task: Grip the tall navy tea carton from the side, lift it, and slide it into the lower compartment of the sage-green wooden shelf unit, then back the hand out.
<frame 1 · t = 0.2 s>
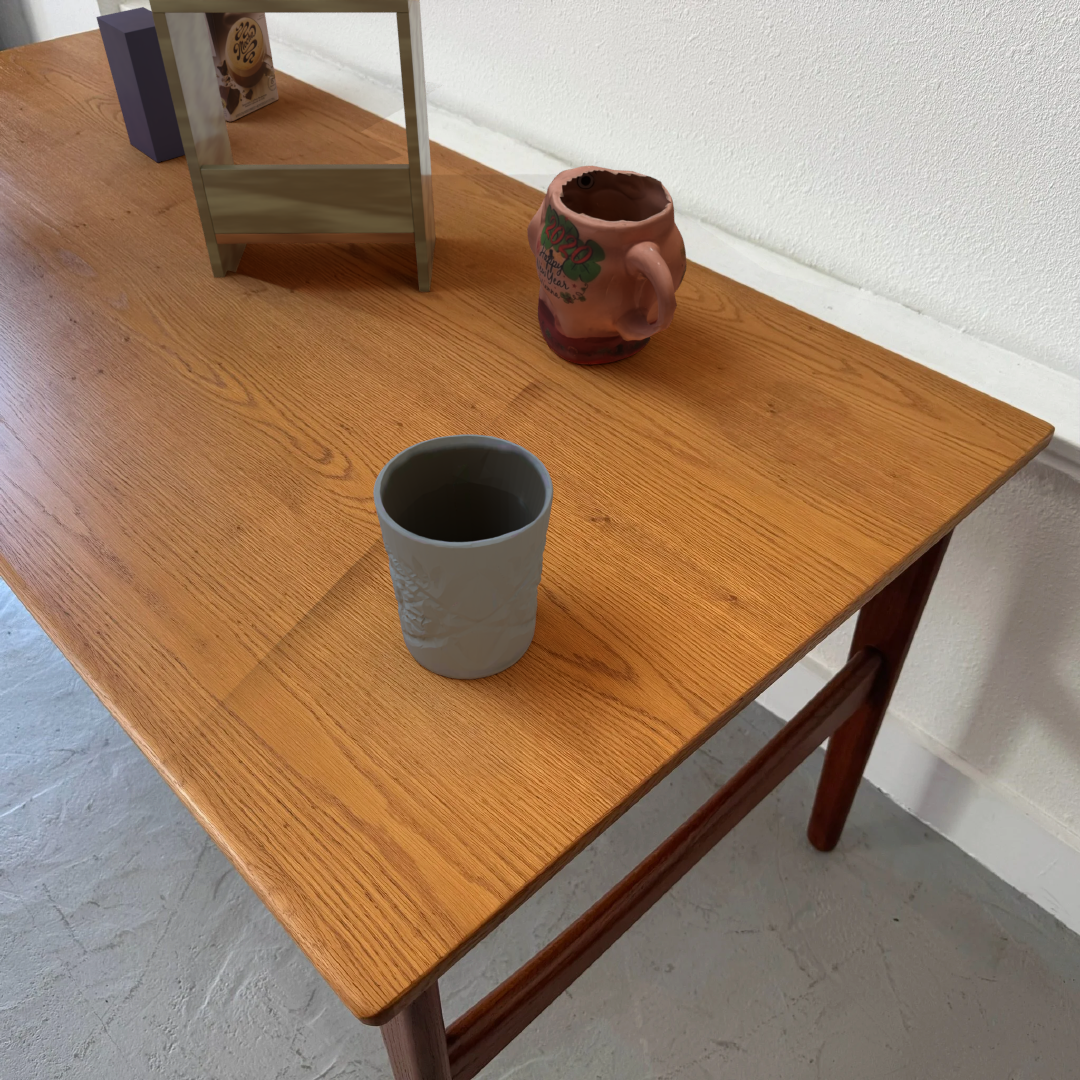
coffee box: (238, 107, 131), on the table
tea carton: (165, 147, 121), on the table
shelf unit: (331, 263, 101), on the table
pink ceramic mug: (605, 347, 91), on the table
grey cup: (472, 628, 67), on the table
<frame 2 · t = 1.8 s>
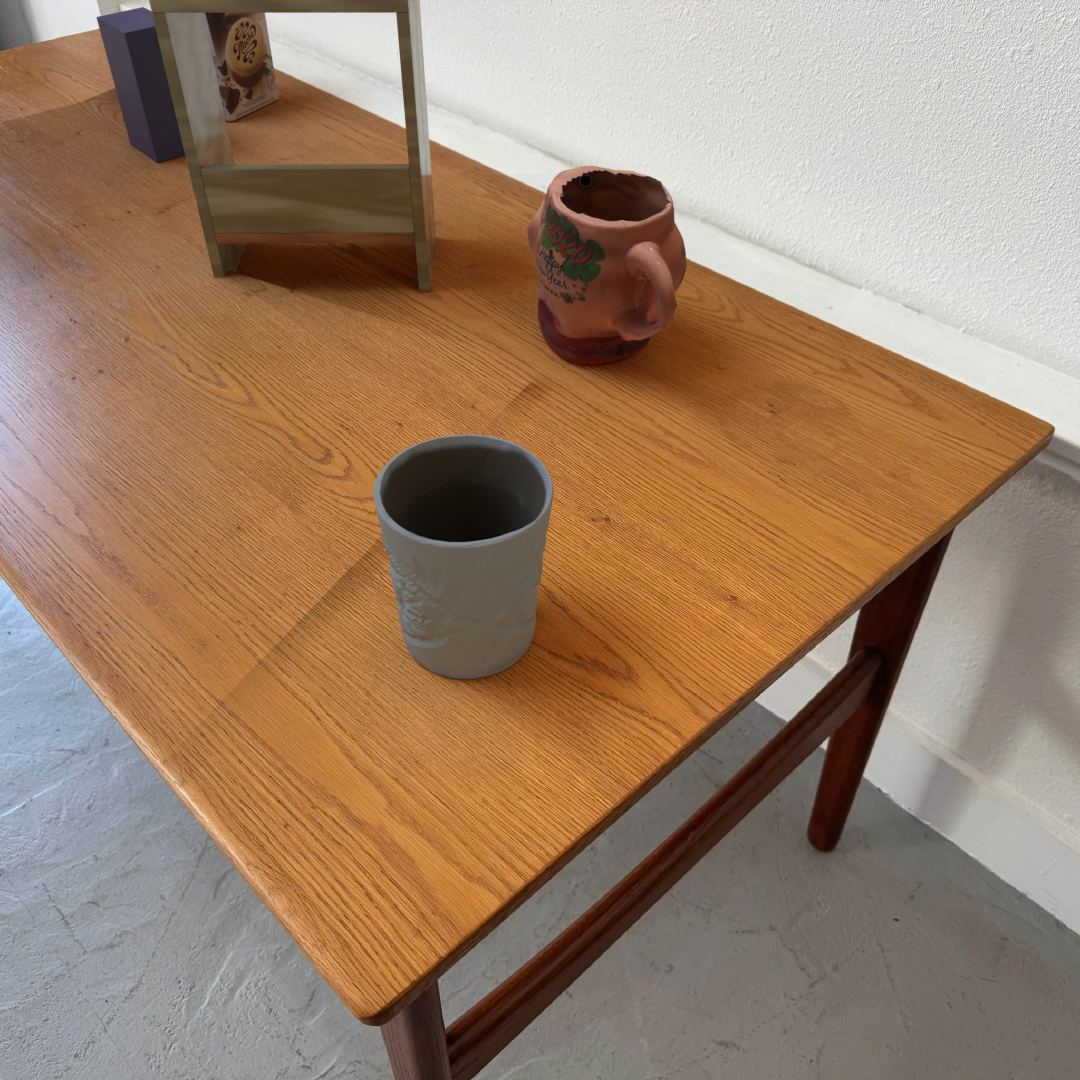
nothing on the table moved.
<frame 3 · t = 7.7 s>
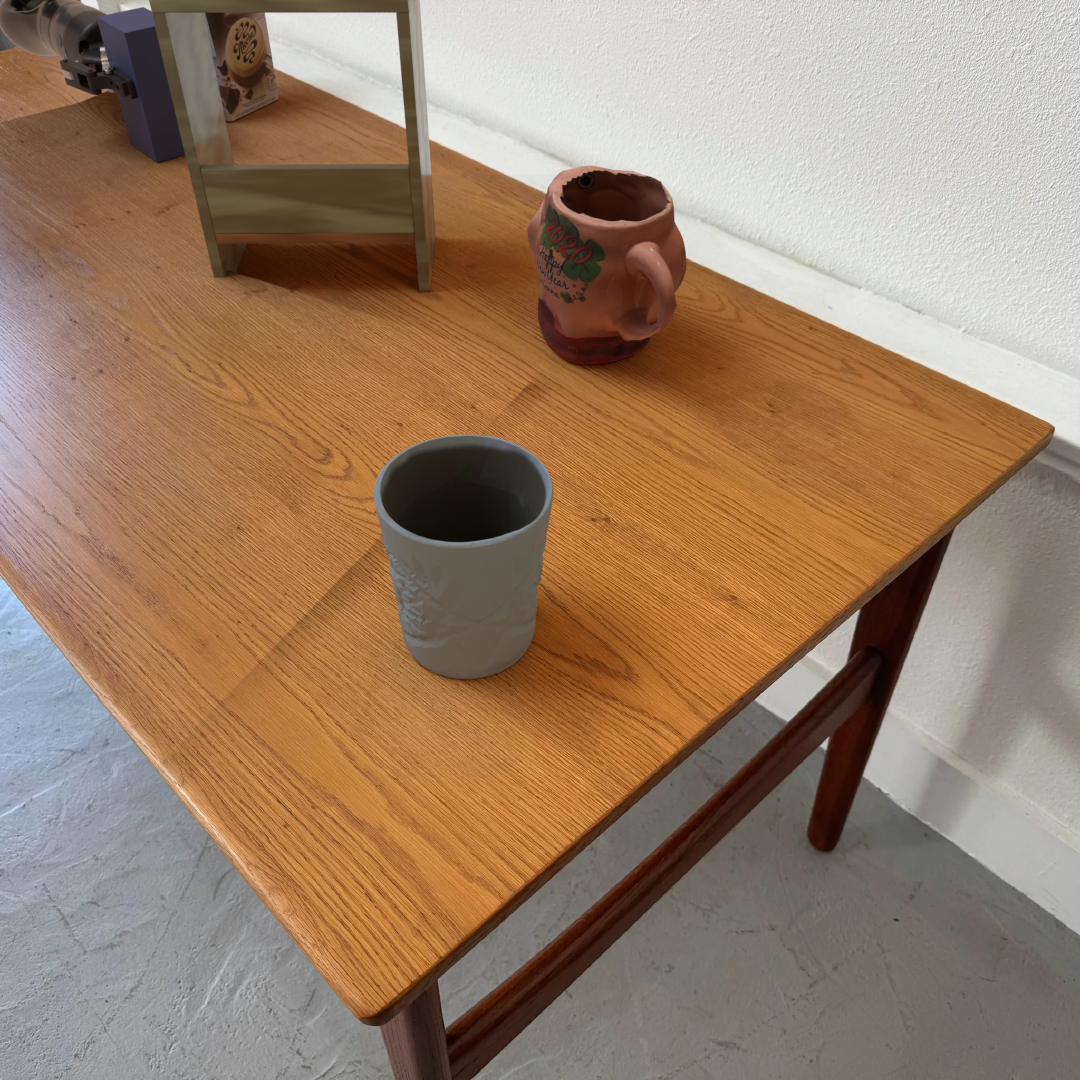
hand: (158, 83, 114), 8 cm above the table, tool horizontal, fingers closed on tea carton, 5 cm apart
tea carton: (165, 147, 121), on the table, touching gripper
everything else where it was.
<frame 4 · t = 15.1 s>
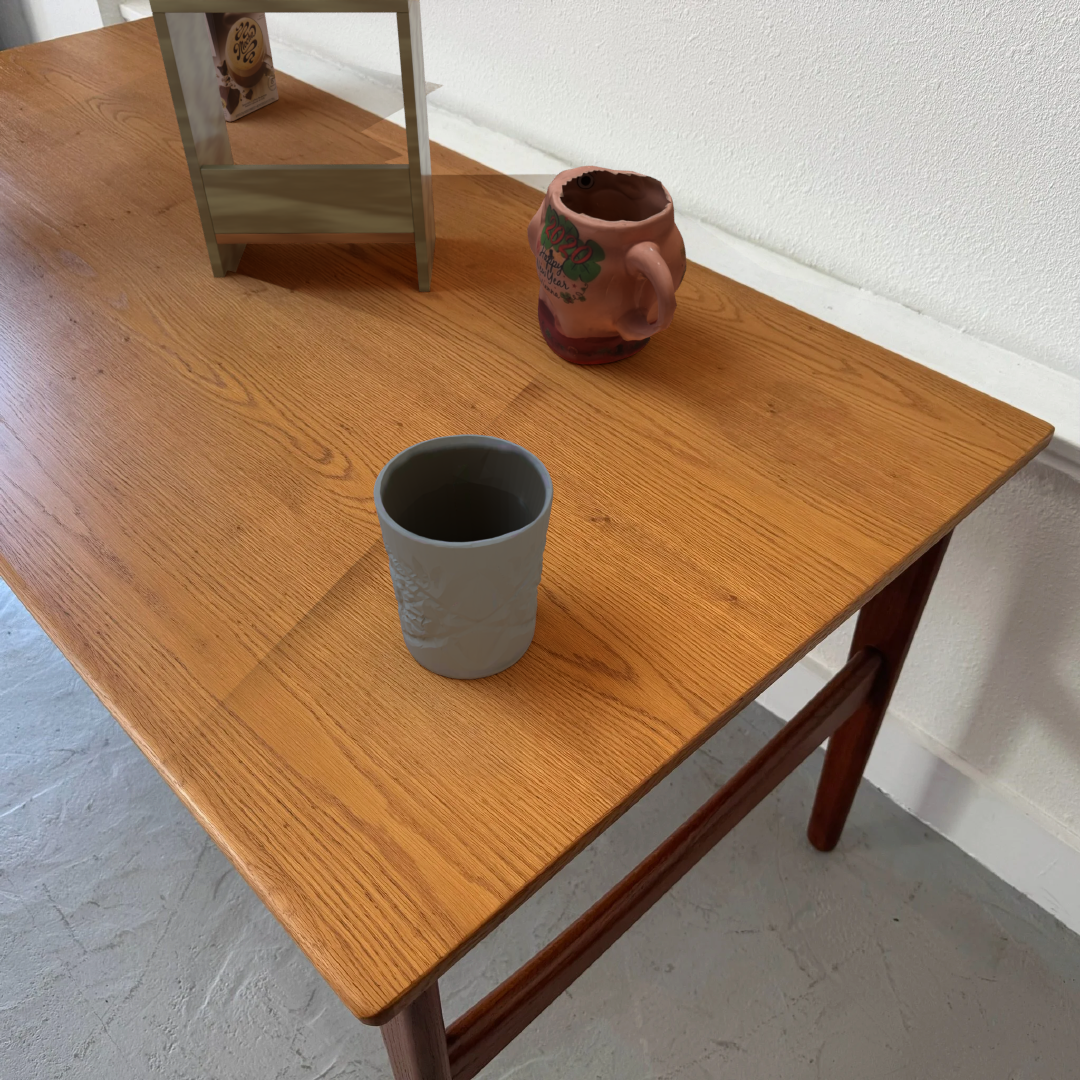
when the fingers open (14 cm above the table, at t = 22.8 s): tea carton stays where it is, resting on shelf unit.
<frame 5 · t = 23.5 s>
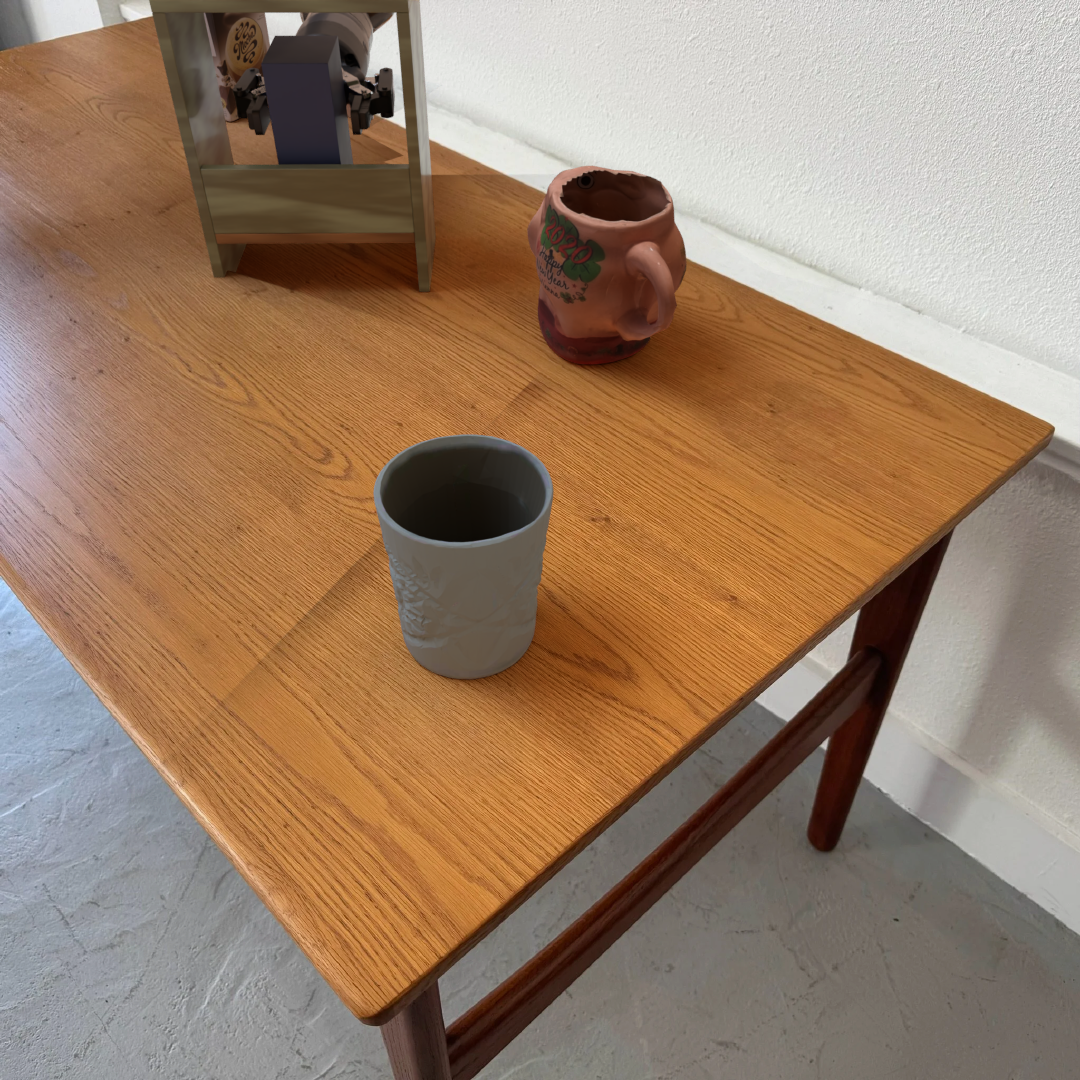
hand: (306, 124, 90), 14 cm above the table, tool horizontal, fingers open, 8 cm apart
tea carton: (323, 205, 97), point 6 cm above the table, touching shelf unit
everything else where it was.
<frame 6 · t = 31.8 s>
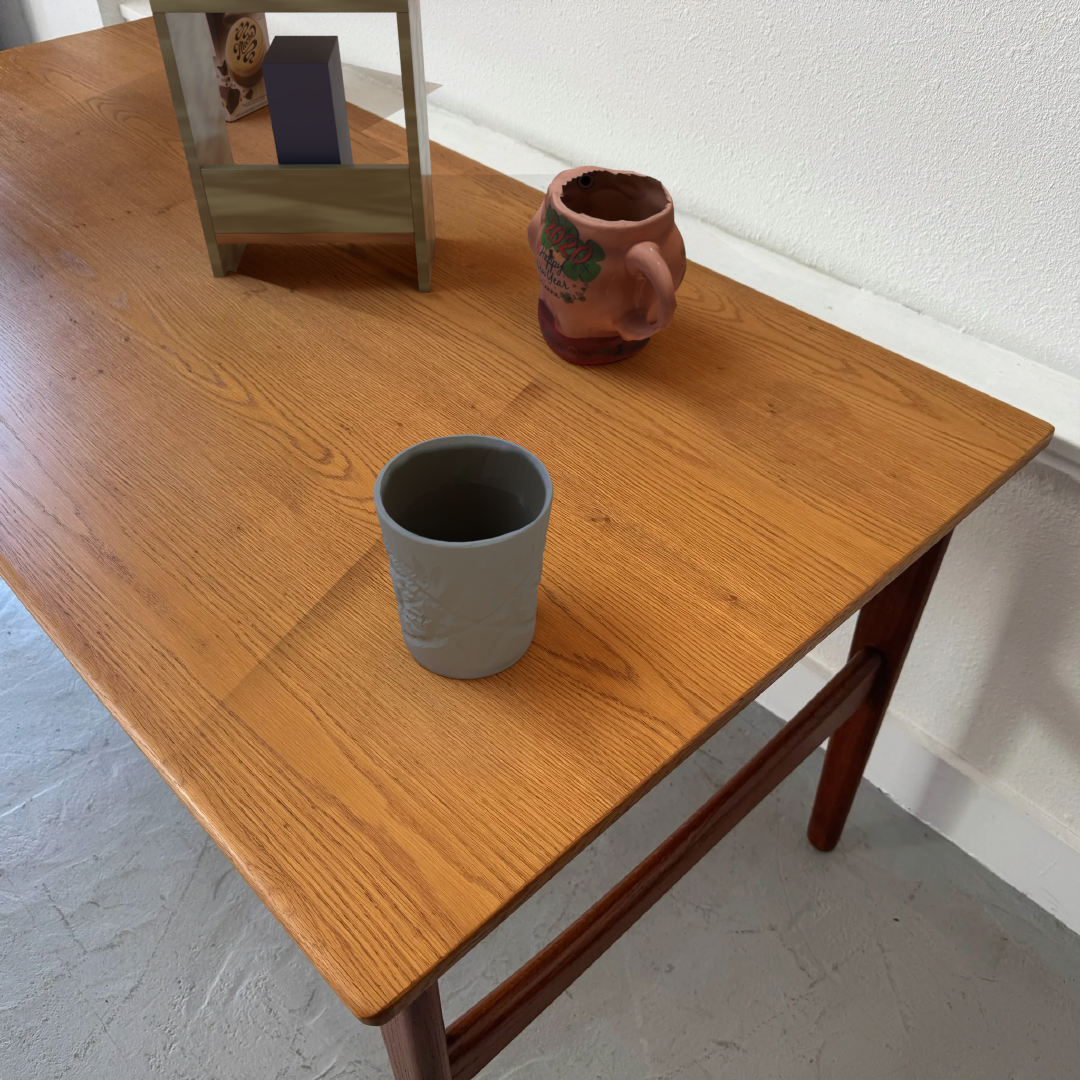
nothing on the table moved.
at the end: tea carton inside the target area on the shelf unit (0.2 cm from its centre), point 6.0 cm above the shelf unit's base; tea carton tilted 0°; the gripper is holding nothing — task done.
